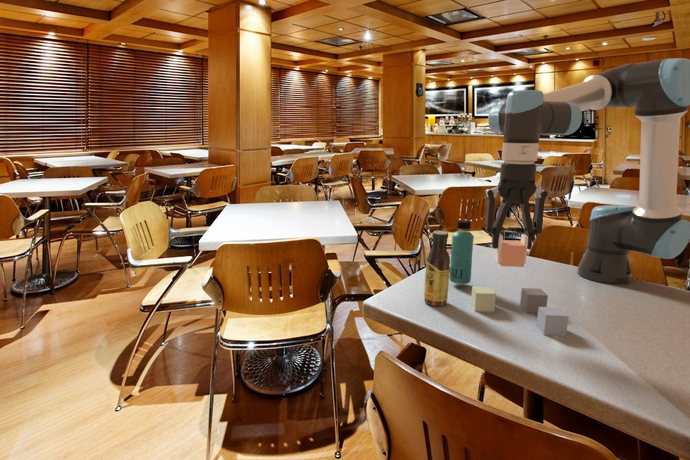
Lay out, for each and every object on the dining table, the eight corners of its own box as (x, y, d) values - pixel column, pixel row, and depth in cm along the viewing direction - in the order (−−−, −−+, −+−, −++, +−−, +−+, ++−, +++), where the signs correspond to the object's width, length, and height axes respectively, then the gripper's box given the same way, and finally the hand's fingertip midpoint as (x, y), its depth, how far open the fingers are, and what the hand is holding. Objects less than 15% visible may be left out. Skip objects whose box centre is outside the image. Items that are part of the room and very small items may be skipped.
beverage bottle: (468, 282, 141) (473, 218, 136) (472, 289, 134) (477, 223, 130) (447, 281, 142) (451, 218, 137) (449, 288, 135) (454, 222, 131)
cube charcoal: (539, 306, 123) (541, 288, 122) (545, 313, 118) (547, 295, 117) (519, 305, 123) (521, 288, 122) (525, 313, 118) (527, 294, 117)
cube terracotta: (517, 260, 110) (519, 240, 109) (523, 266, 105) (525, 245, 104) (496, 260, 111) (497, 240, 109) (501, 266, 106) (503, 245, 105)
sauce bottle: (421, 299, 127) (424, 229, 122) (443, 298, 127) (447, 228, 123) (427, 308, 121) (431, 234, 116) (450, 307, 121) (455, 234, 117)
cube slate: (557, 327, 110) (560, 307, 109) (566, 336, 105) (568, 316, 104) (536, 326, 110) (538, 306, 109) (543, 335, 106) (545, 315, 104)
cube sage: (489, 304, 124) (491, 287, 122) (494, 312, 119) (495, 293, 118) (470, 304, 124) (472, 286, 123) (474, 311, 119) (476, 293, 118)
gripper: (481, 163, 100) (474, 265, 105) (566, 164, 98) (555, 267, 104) (474, 160, 107) (468, 256, 112) (553, 161, 106) (543, 258, 111)
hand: (509, 261), depth 108 cm, fingers closed on cube terracotta, 5 cm apart
